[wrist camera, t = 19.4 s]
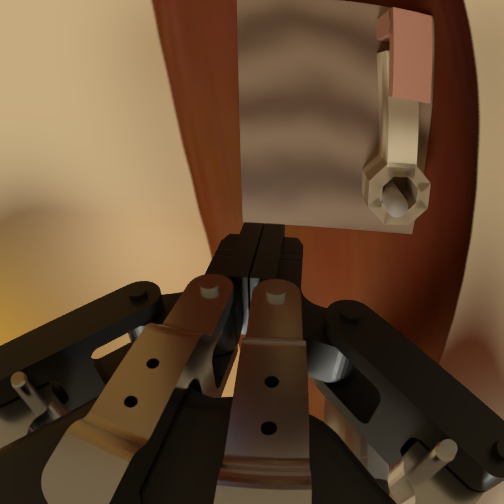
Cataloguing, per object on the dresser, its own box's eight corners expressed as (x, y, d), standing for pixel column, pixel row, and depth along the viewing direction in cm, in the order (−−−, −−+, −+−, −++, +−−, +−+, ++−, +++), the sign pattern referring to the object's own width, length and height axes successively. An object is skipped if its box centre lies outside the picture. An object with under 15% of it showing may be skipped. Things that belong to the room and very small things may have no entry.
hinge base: (409, 229, 30) (427, 263, 25) (244, 217, 33) (230, 249, 28) (429, 18, 19) (458, 8, 14) (239, 1, 22) (221, -17, 16)
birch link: (414, 209, 28) (425, 225, 25) (360, 208, 29) (366, 224, 26) (420, 58, 21) (434, 56, 18) (359, 52, 22) (366, 49, 19)
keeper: (407, 98, 23) (430, 103, 18) (375, 93, 23) (392, 97, 19) (408, 25, 19) (431, 15, 15) (376, 19, 20) (392, 7, 15)
